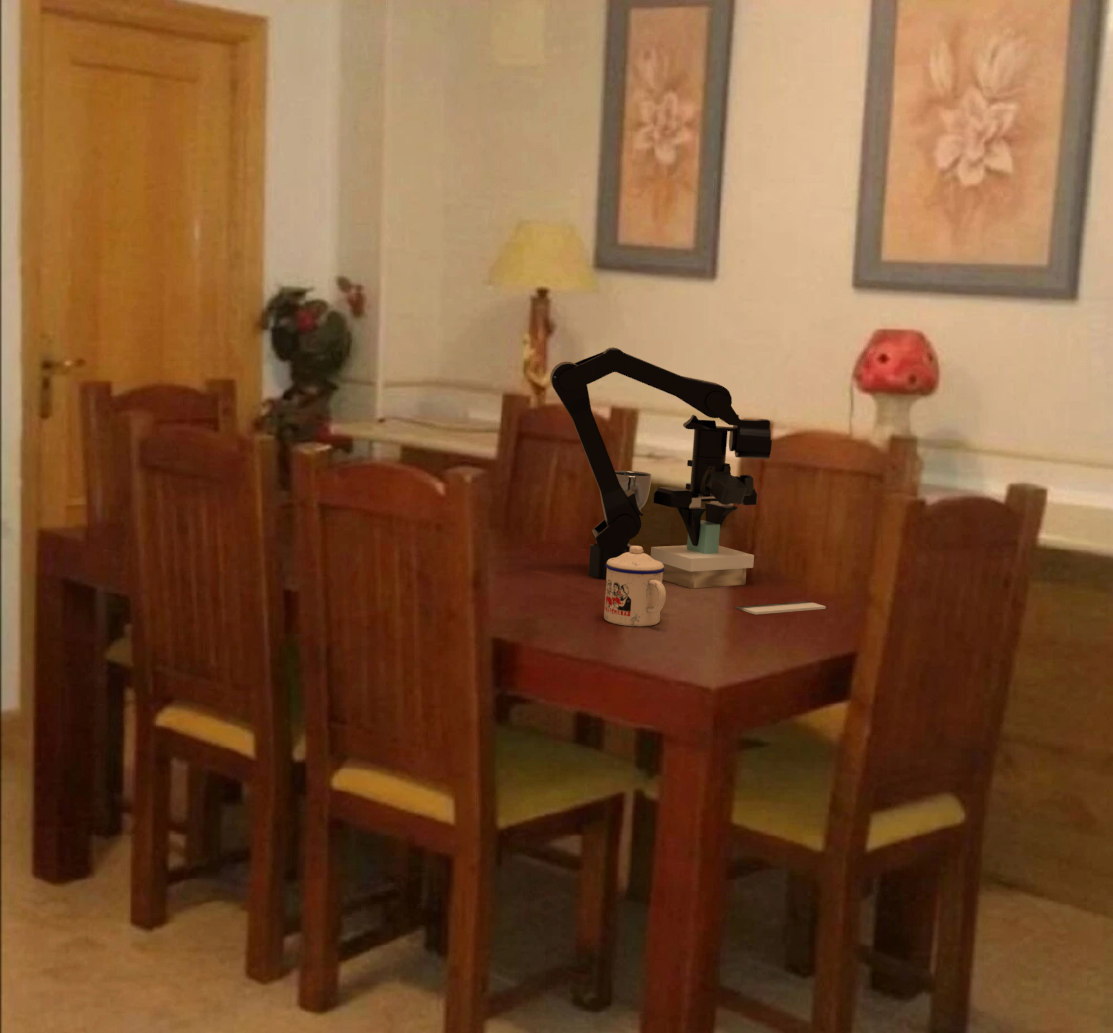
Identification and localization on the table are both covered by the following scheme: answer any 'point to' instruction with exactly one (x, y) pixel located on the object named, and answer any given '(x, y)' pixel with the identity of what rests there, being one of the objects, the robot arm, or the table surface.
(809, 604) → the mat
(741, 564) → the lid
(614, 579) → the teacup with lid
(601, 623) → the table surface
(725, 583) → the box
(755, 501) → the robot arm
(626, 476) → the wine glass
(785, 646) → the table surface
